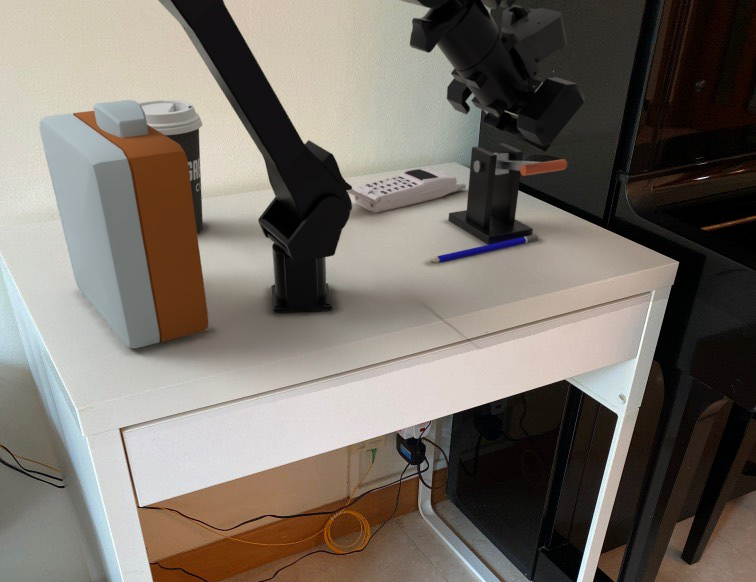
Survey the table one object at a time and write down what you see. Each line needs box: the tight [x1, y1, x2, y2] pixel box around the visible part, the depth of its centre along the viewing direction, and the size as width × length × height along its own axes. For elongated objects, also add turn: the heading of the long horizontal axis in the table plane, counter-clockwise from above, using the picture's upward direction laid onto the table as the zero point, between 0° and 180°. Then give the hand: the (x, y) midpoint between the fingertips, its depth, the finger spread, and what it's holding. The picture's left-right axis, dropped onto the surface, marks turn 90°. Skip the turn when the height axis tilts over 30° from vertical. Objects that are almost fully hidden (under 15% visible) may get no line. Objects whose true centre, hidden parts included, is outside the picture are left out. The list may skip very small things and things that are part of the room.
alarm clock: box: [39, 99, 209, 349], centre depth 79 cm, size 18×9×21 cm, turn 33°
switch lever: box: [492, 152, 568, 177], centre depth 98 cm, size 12×6×2 cm, turn 27°
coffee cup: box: [137, 99, 204, 235], centre depth 101 cm, size 10×10×15 cm
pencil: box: [429, 233, 539, 264], centre depth 101 cm, size 17×1×1 cm, turn 121°
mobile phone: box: [346, 167, 467, 214], centre depth 113 cm, size 6×6×25 cm
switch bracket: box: [448, 142, 534, 245], centre depth 104 cm, size 10×7×10 cm
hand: (546, 148), depth 92 cm, fingers closed
